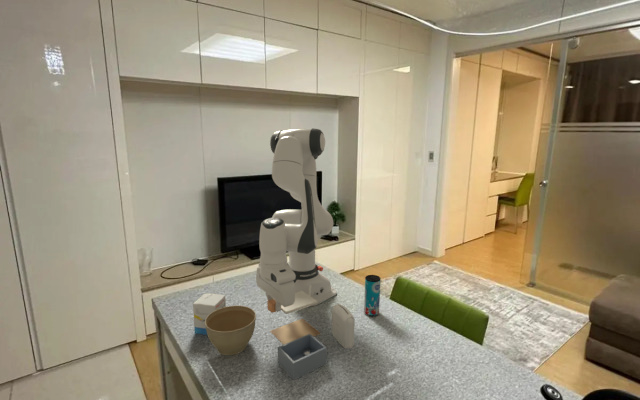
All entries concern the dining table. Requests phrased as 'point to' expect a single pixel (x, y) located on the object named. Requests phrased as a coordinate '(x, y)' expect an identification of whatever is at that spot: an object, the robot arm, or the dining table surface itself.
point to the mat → (294, 331)
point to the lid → (300, 302)
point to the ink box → (206, 310)
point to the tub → (301, 356)
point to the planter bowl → (230, 328)
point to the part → (307, 352)
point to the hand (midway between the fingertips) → (274, 307)
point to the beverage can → (372, 295)
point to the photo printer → (343, 326)
